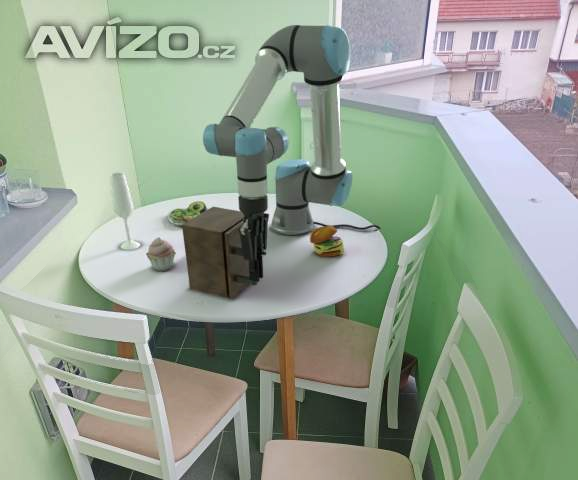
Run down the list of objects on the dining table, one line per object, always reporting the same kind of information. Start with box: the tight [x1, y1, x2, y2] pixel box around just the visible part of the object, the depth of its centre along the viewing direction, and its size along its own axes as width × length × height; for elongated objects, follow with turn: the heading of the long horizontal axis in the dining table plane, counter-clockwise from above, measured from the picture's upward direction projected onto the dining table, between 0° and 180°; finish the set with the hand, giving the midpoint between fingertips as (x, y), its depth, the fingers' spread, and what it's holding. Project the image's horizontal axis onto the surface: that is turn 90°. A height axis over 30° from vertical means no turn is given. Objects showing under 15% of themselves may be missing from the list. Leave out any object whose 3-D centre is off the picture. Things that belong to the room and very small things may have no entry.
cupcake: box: [145, 236, 177, 272], centre depth 179 cm, size 9×9×10 cm
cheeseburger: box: [309, 224, 345, 258], centre depth 188 cm, size 10×11×10 cm
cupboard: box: [181, 206, 244, 299], centre depth 167 cm, size 13×16×20 cm
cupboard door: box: [225, 221, 258, 300], centre depth 163 cm, size 8×16×20 cm, turn 156°
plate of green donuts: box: [167, 200, 210, 228], centre depth 212 cm, size 19×18×5 cm
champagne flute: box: [109, 172, 141, 251], centre depth 188 cm, size 7×7×24 cm
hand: (256, 278), depth 159 cm, fingers closed on cupboard door, 2 cm apart
